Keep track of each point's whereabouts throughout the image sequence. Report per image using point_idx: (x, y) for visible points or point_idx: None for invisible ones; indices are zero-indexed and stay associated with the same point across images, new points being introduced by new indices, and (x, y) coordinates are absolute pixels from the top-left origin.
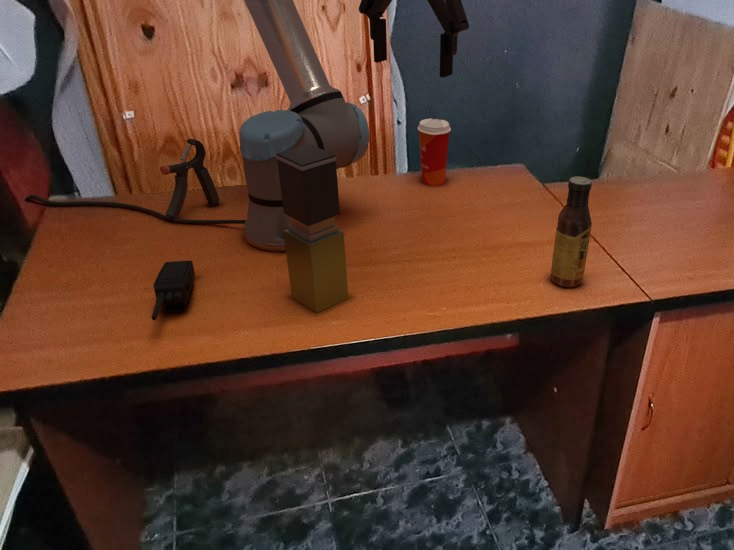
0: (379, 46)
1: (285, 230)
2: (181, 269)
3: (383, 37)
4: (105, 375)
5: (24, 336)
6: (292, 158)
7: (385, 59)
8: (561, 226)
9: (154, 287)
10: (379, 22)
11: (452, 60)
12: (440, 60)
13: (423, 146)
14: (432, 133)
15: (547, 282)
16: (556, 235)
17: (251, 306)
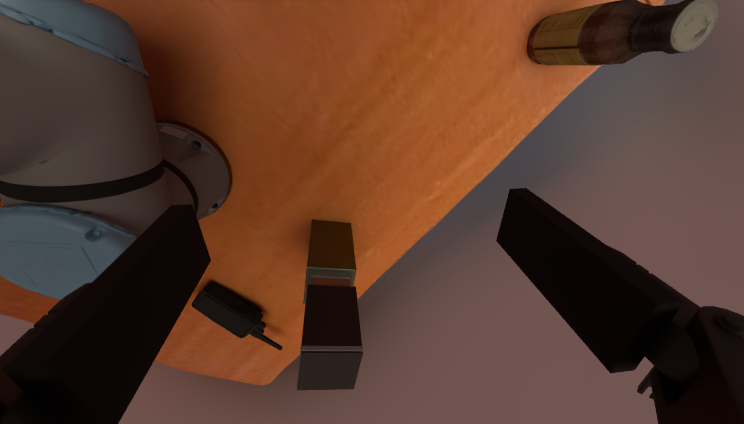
0: (178, 289)
1: (305, 302)
2: (224, 311)
3: (147, 292)
4: (294, 359)
5: (213, 370)
6: (328, 387)
7: (193, 215)
8: (594, 61)
9: (243, 337)
10: (100, 402)
11: (560, 215)
12: (530, 277)
13: None
14: None
15: (523, 60)
16: (574, 56)
17: (294, 277)
